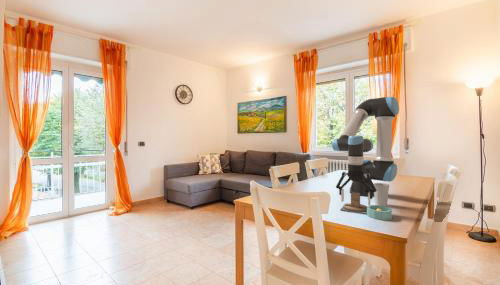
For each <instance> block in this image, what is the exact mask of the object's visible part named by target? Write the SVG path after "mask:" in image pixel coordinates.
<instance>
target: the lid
mask: <svg viewBox="0 0 500 285" xmlns="http://www.w3.org/2000/svg"><path fill="white" fill-rule="evenodd" d="M343 206H344V208H345V209H347V210H350V211H356V212H363V211H367V206H368V205H364V204H361V196H360V193H353V192H352V193H350V202H349V203H344V204H343Z"/></svg>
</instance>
